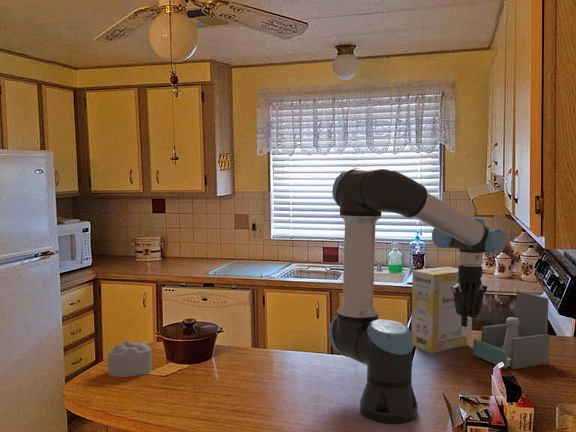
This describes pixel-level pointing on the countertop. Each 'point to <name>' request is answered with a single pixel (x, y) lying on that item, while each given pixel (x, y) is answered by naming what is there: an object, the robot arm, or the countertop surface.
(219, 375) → the countertop surface
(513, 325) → the salt shaker
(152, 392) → the countertop surface
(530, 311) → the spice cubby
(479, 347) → the tray
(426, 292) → the pasta box
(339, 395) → the countertop surface
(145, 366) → the lumpy-topped squat cylinder
